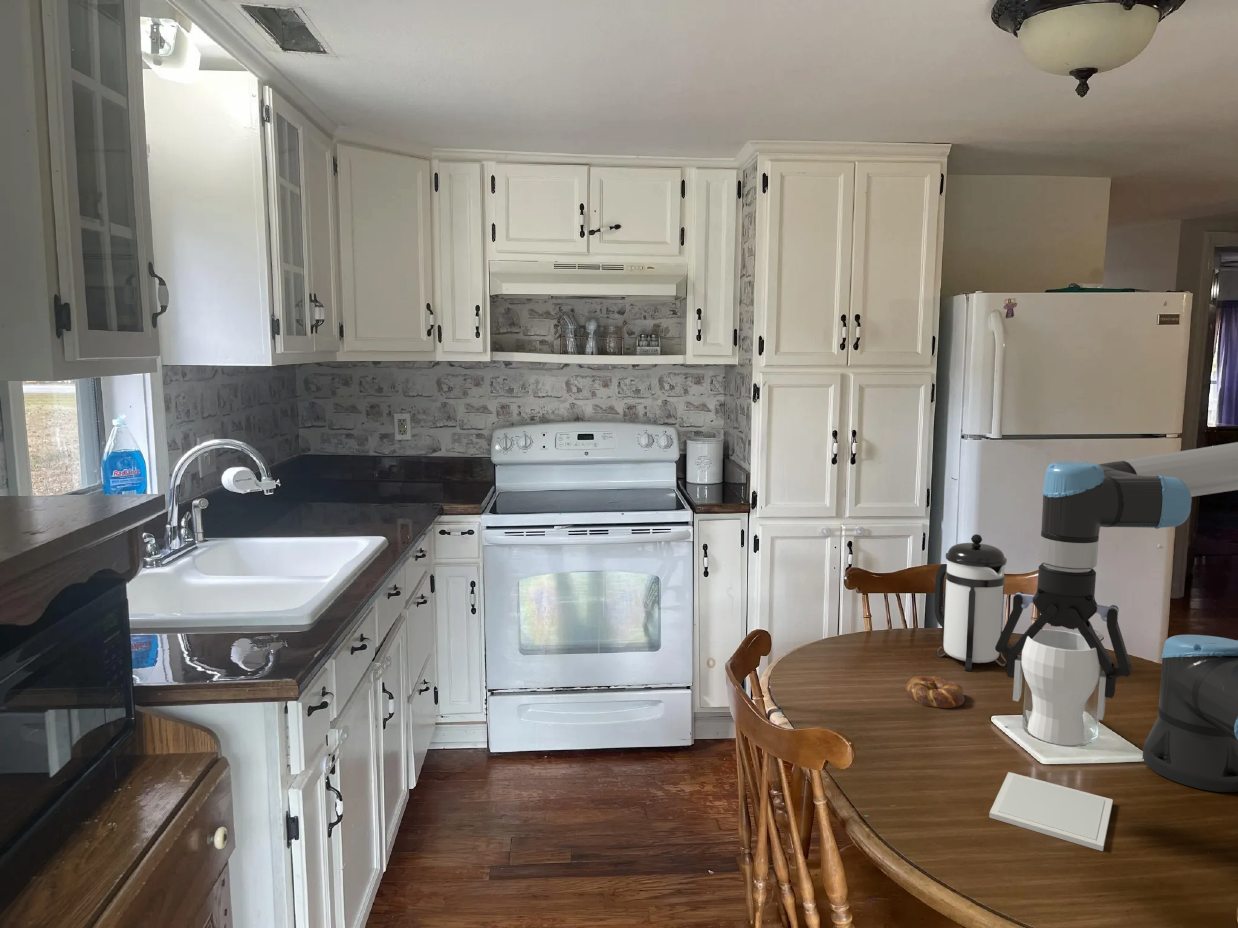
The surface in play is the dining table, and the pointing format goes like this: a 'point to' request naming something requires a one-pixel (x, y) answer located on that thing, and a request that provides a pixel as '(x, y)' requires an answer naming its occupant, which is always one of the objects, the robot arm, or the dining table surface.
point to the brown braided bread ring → (935, 692)
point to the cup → (1059, 684)
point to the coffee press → (971, 602)
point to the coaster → (1053, 810)
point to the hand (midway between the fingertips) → (1057, 706)
